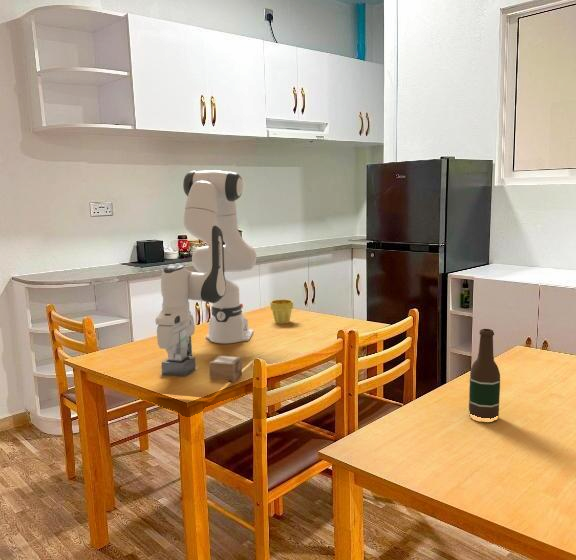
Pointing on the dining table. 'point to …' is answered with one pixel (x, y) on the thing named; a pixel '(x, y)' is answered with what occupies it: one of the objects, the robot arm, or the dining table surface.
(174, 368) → the grey square bin
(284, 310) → the plant pot
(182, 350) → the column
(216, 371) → the pedestal
